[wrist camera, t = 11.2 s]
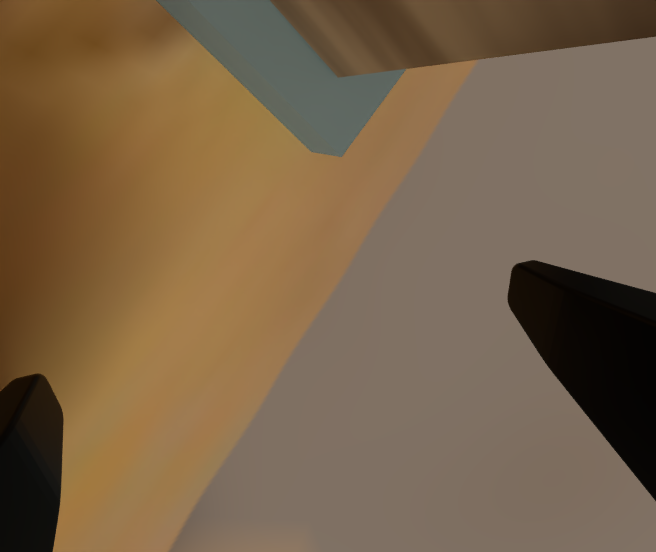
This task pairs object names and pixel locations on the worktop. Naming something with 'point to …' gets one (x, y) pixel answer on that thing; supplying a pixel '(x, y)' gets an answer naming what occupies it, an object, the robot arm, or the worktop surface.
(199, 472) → the worktop surface
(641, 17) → the walnut pillar
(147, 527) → the worktop surface
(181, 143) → the worktop surface
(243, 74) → the base block
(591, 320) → the robot arm
